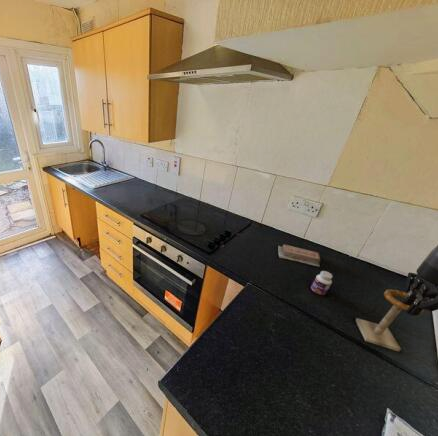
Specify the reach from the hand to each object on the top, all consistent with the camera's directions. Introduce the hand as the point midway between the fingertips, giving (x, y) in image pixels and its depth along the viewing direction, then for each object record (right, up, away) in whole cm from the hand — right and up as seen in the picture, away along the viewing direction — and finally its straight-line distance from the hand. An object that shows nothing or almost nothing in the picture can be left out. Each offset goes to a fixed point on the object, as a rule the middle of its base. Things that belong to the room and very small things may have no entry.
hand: (408, 310), depth 68 cm
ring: (+1, +2, +2) cm, 3 cm away
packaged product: (-1, +7, +49) cm, 50 cm away
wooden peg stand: (+1, -13, +10) cm, 17 cm away
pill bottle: (-6, -4, +28) cm, 29 cm away
